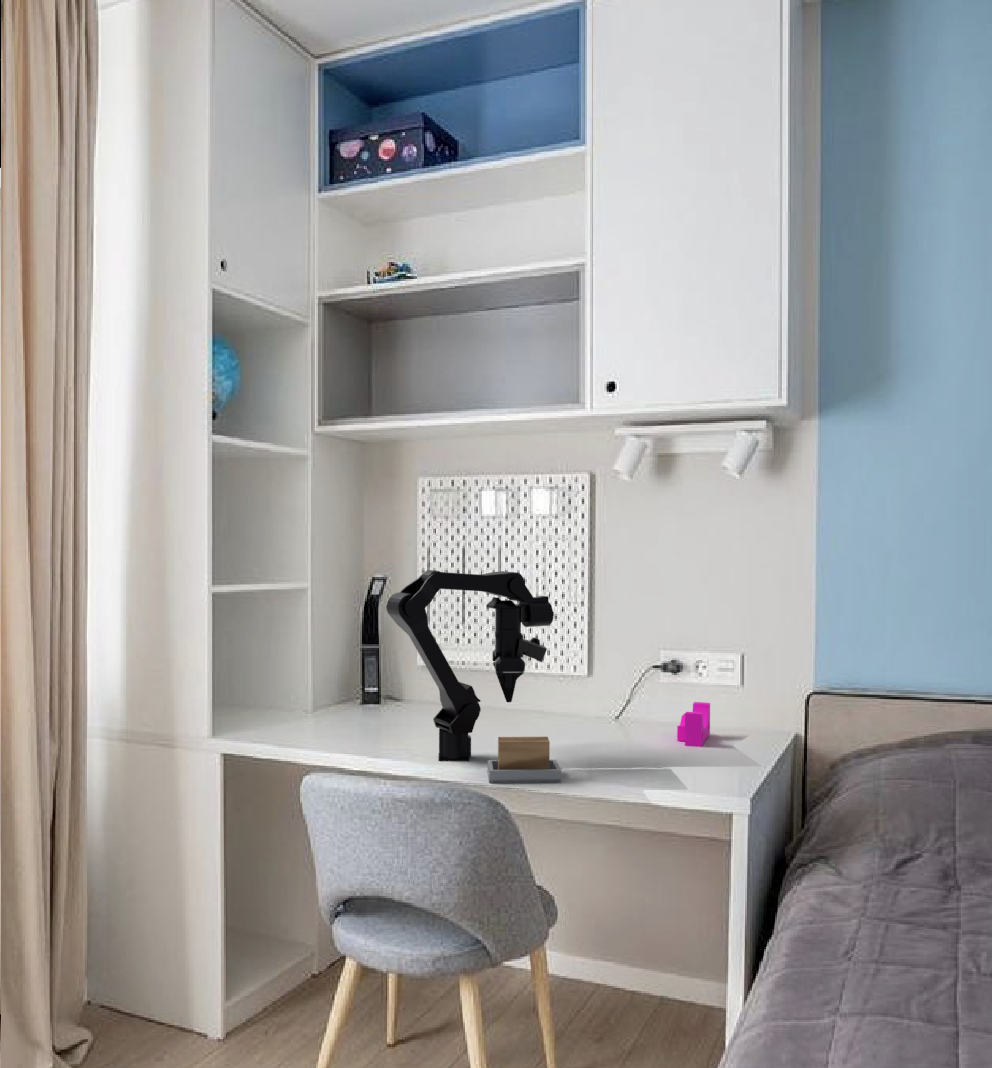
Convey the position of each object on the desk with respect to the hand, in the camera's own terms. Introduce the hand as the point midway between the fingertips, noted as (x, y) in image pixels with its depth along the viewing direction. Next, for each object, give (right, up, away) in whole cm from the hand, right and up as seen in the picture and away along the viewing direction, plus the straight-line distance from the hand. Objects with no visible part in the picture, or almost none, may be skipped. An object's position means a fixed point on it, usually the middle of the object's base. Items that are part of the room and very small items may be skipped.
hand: (507, 698), depth 217 cm
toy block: (+44, -12, +15) cm, 48 cm away
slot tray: (+3, -12, -21) cm, 24 cm away
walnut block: (+3, -12, -21) cm, 24 cm away
